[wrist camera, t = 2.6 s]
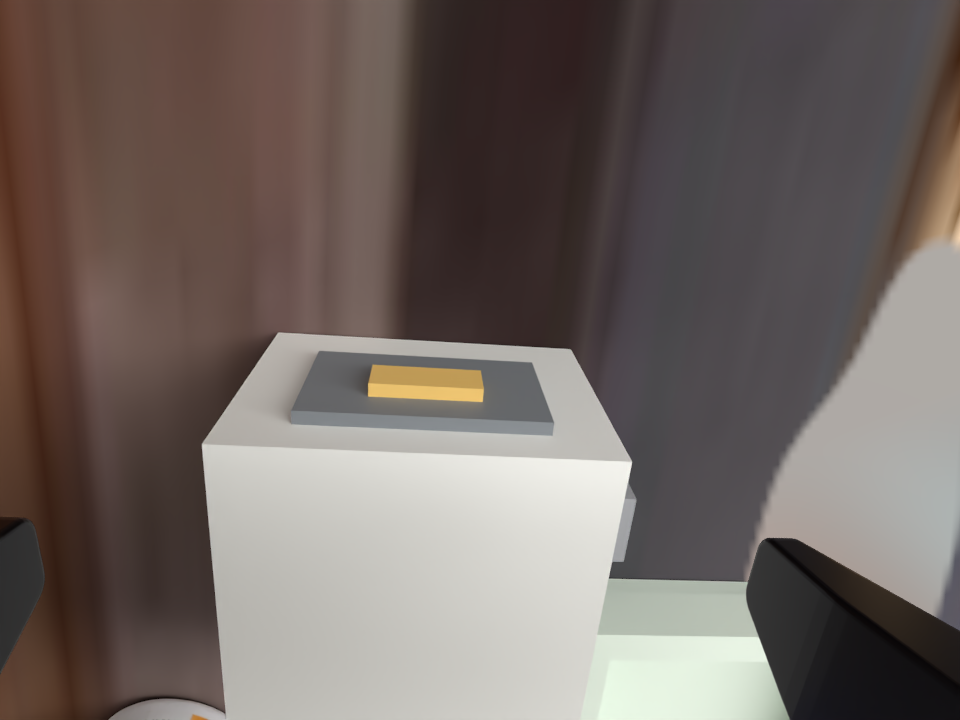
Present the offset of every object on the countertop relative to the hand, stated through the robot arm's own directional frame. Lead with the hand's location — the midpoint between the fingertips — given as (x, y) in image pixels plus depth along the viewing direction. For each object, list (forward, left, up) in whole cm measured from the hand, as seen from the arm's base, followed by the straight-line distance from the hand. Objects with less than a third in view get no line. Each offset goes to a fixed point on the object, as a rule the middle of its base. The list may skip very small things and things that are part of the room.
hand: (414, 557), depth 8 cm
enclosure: (-5, 0, -10) cm, 11 cm away
